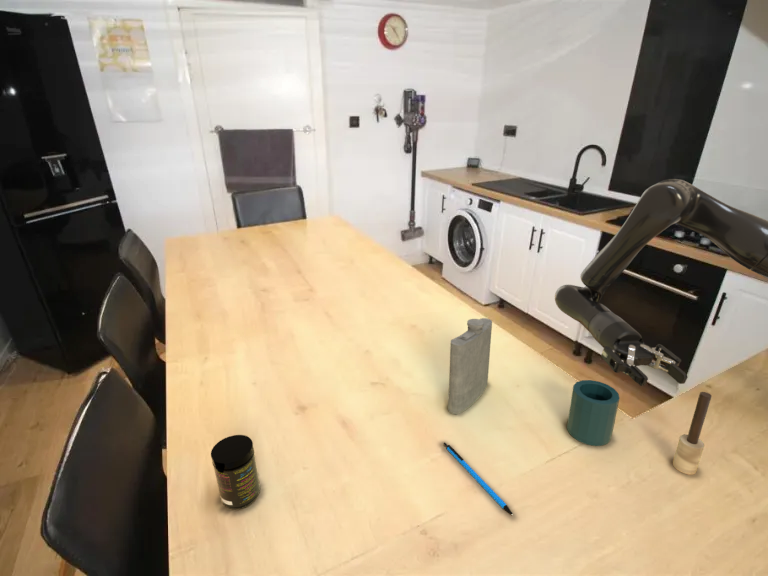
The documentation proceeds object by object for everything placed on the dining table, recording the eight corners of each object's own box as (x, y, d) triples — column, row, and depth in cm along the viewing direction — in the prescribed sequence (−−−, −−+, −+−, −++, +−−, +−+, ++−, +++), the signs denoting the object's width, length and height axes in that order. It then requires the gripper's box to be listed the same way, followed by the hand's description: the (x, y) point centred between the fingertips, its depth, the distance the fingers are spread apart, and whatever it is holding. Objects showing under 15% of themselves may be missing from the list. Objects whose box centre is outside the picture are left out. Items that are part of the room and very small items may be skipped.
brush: (687, 459, 77) (708, 387, 72) (701, 474, 74) (724, 400, 68) (668, 460, 77) (688, 388, 72) (681, 475, 74) (703, 401, 68)
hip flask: (477, 379, 104) (482, 307, 97) (492, 384, 102) (498, 311, 95) (445, 410, 93) (448, 331, 86) (461, 417, 90) (465, 337, 83)
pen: (445, 444, 83) (446, 439, 83) (514, 515, 67) (515, 510, 67) (442, 445, 83) (442, 441, 82) (510, 518, 67) (511, 513, 66)
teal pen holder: (598, 418, 89) (605, 379, 85) (618, 445, 81) (628, 403, 78) (560, 419, 89) (566, 380, 85) (577, 446, 81) (584, 404, 78)
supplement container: (268, 485, 74) (260, 438, 71) (245, 516, 68) (236, 467, 65) (237, 476, 76) (228, 431, 73) (212, 506, 70) (201, 458, 67)
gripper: (589, 321, 91) (638, 367, 77) (647, 319, 93) (705, 364, 79) (580, 348, 95) (625, 397, 81) (636, 346, 97) (690, 394, 83)
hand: (665, 381), depth 80 cm, fingers open, 8 cm apart
